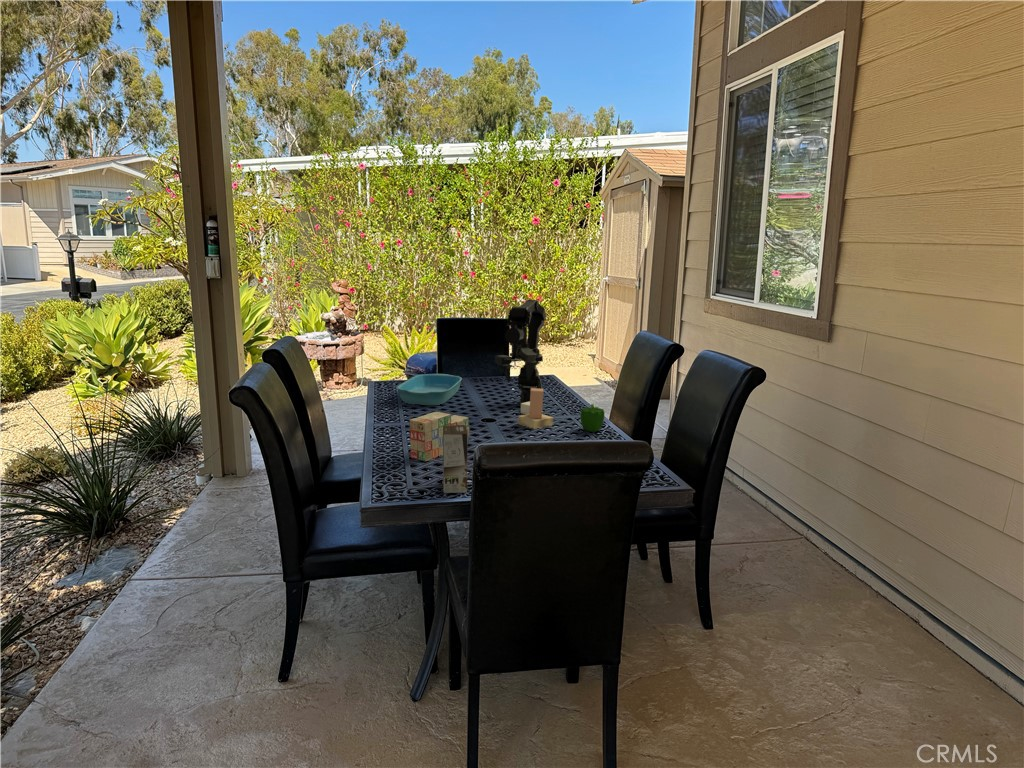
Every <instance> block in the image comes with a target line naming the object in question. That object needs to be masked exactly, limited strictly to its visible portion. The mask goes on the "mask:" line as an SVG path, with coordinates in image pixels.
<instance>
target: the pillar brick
mask: <svg viewBox="0 0 1024 768" xmlns="http://www.w3.org/2000/svg"><path fill="white" fill-rule="evenodd" d="M543 403H544V388H541V389H538V388H531V394H530V410H529V418H541V419H542V414H543Z"/></svg>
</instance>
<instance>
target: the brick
mask: <svg viewBox="0 0 1024 768" xmlns="http://www.w3.org/2000/svg"><path fill="white" fill-rule="evenodd" d="M529 410H530V401H529V402H525V403H520V413H521V415H526V414H529Z"/></svg>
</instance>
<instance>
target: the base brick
mask: <svg viewBox="0 0 1024 768" xmlns="http://www.w3.org/2000/svg"><path fill="white" fill-rule="evenodd" d="M517 422H518V423H517V424H518V425H520V426H523V427H525V426H526V428H528V427H529V429H531V428H533V429H532V430H538V429H537V428H539V429H543V428H542V427H544V428H548V427H547V426H549V427H553V426H554V417H552V416H549V415H546V414H543V413H542V419H541V418H529V414H521V415H518V420H517ZM552 425H553V426H552Z"/></svg>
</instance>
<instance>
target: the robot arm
mask: <svg viewBox="0 0 1024 768" xmlns="http://www.w3.org/2000/svg"><path fill="white" fill-rule="evenodd" d="M546 319H547V313H546V309H545V307H544V306H543V305H541V304H540V302H539V300H536V299H527V300H525V301H524V303H522V304H521V305H520V306H512V307H511V308H510V309H509V312H508V316H507V321H506V326H508V327H509V326H510V327H509V328H508V329H507V330H506V331H505V333H504V338H505V340H506V342H507V343H509V345H510V346H511V352H510V353H509V355H505V354H501V355H499V354H498V355H496V356H495V357H494V364H497V366H499V367H500V368H501V371H502V372H503V374H504V377H505V379H506V381H507V383H510V382H511V368H512V367H513V365H512V363H514V362H521V361H523V363H524V364H523V365H522V366H521V367H520V369H519V374H518V377H517V384H518V390H521V392H520V401H518V403H519V404H521V403H525V402H529V401H530V394H531V388H538V389H543V388H542V381H541V377H540V375H539V374H540V372H539V370H538V367H537V365H540V364H541V362H543V359H544V356H543V355H542V354H541V353H540V348H538V347H539V339H540V338H539V337H540V331H541V330H542V329H543V327H544V325H545V322H546Z"/></svg>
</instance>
